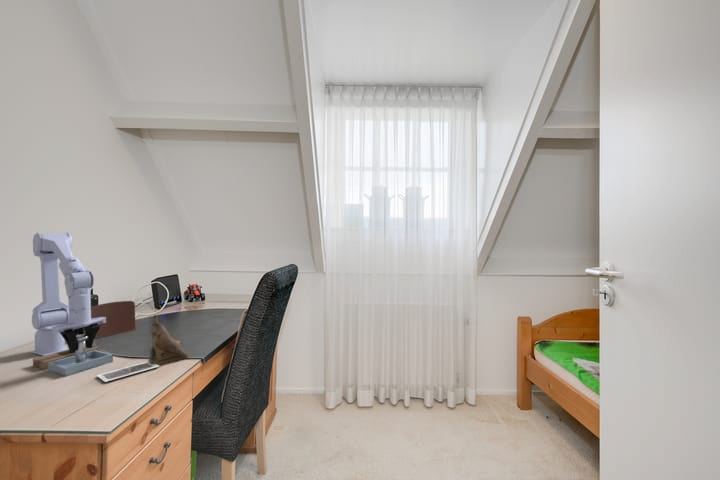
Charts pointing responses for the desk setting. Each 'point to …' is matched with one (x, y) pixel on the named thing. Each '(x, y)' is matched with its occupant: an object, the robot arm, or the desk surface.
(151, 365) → the touchpad
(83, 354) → the steel pin
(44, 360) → the brown flat block
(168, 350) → the brown carved statuette
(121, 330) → the letter holder
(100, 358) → the tray
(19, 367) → the desk surface
